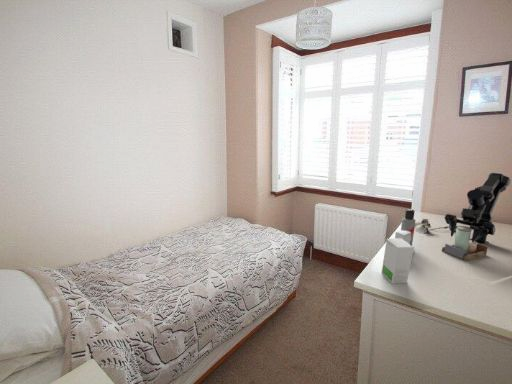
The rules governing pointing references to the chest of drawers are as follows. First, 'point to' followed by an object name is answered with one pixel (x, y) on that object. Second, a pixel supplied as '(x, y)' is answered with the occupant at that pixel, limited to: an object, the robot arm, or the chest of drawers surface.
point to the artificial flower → (425, 226)
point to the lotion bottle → (409, 223)
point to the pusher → (454, 251)
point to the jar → (472, 247)
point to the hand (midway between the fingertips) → (461, 238)
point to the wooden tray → (480, 252)
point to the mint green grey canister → (462, 238)
